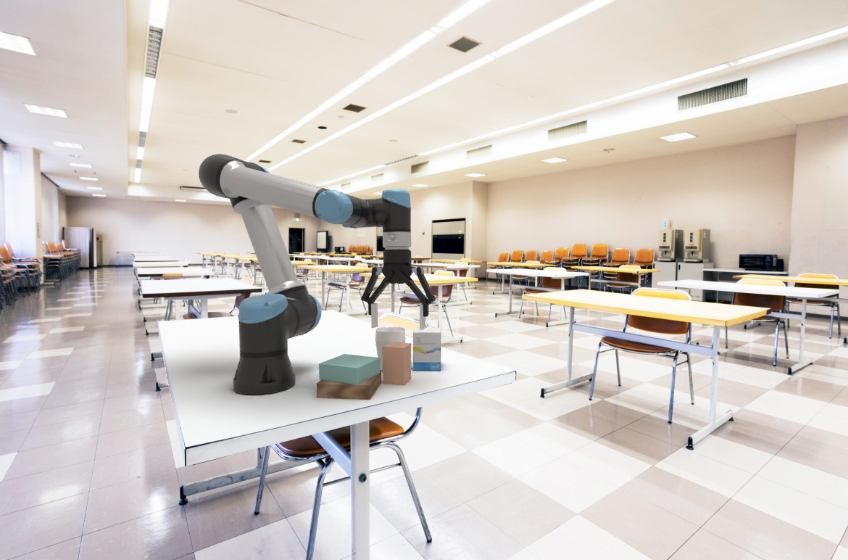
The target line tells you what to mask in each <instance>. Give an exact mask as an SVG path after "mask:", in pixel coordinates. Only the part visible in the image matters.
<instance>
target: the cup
mask: <svg viewBox="0 0 848 560" xmlns="http://www.w3.org/2000/svg"><path fill="white" fill-rule="evenodd" d="M374 339H375V340H374V341H375V346H376V353H377V354H376V355H377V357H378V358H380V370H381V372H383V346H385V345H386V344H388V343H390V342H398V343H406V339H407V338H406V329H405V328H404V327H401V326H399V327H398V326H382V327H376V329H375V338H374Z"/></svg>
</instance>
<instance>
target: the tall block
mask: <svg viewBox="0 0 848 560" xmlns="http://www.w3.org/2000/svg"><path fill="white" fill-rule="evenodd" d="M411 380H412V343H410V342H405V343H398V342H390V343H388V344H386V345H385V346H383V371H382V384H383V385H392V386H393V385H395V386H403V387H405V385H407V384H408V383H409V382H410V381H411Z"/></svg>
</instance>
